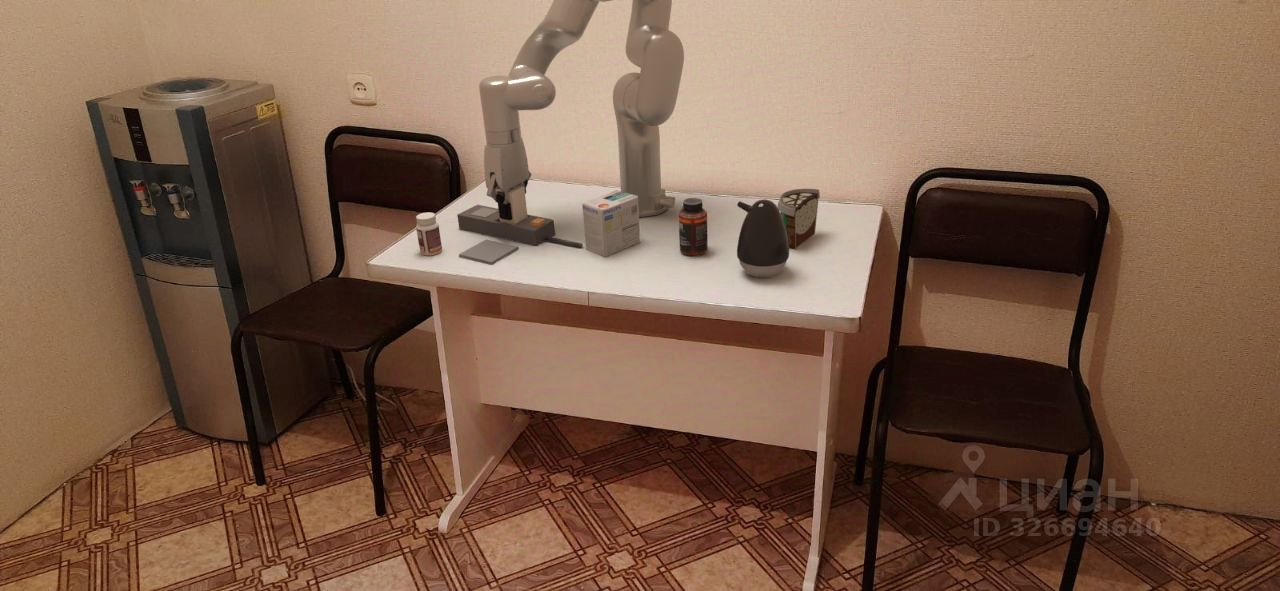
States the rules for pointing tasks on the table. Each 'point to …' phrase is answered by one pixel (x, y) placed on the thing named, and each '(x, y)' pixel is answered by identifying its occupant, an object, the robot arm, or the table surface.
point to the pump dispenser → (762, 239)
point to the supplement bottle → (693, 228)
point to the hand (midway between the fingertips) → (513, 214)
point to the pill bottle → (428, 234)
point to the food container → (799, 214)
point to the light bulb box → (611, 222)
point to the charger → (516, 205)
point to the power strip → (510, 227)
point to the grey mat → (488, 251)
